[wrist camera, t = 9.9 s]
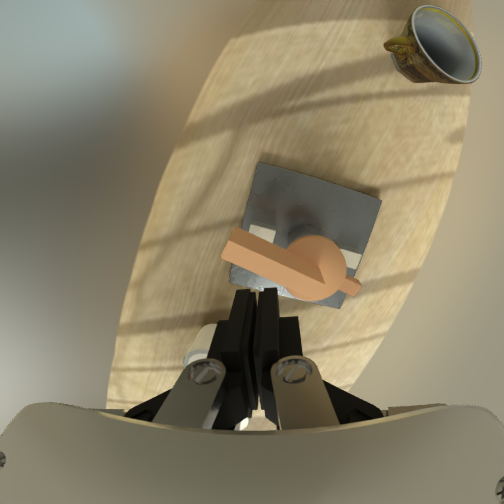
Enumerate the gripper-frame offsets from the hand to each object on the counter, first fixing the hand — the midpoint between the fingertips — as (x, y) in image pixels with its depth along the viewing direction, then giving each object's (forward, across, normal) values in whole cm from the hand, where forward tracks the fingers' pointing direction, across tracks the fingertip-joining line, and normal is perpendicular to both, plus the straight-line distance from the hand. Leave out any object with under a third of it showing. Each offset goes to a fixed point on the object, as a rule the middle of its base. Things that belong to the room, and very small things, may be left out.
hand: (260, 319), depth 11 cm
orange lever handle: (+16, -3, +4) cm, 16 cm away
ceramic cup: (+24, -20, -20) cm, 37 cm away
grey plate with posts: (+24, -4, +4) cm, 25 cm away
